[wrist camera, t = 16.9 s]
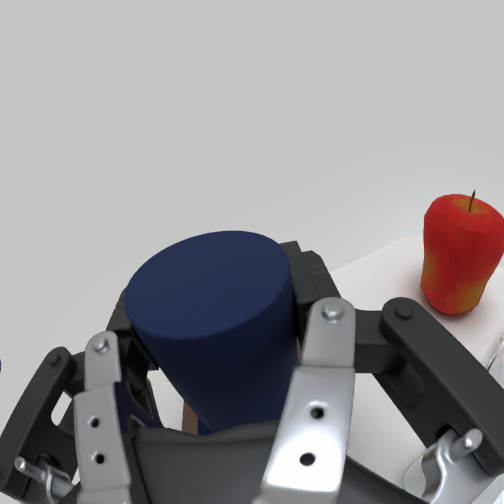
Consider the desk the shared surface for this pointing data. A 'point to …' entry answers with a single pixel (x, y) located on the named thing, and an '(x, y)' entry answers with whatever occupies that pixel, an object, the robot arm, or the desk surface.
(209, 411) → the navy blue boot
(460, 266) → the apple
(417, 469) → the slotted bracket
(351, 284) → the desk surface
